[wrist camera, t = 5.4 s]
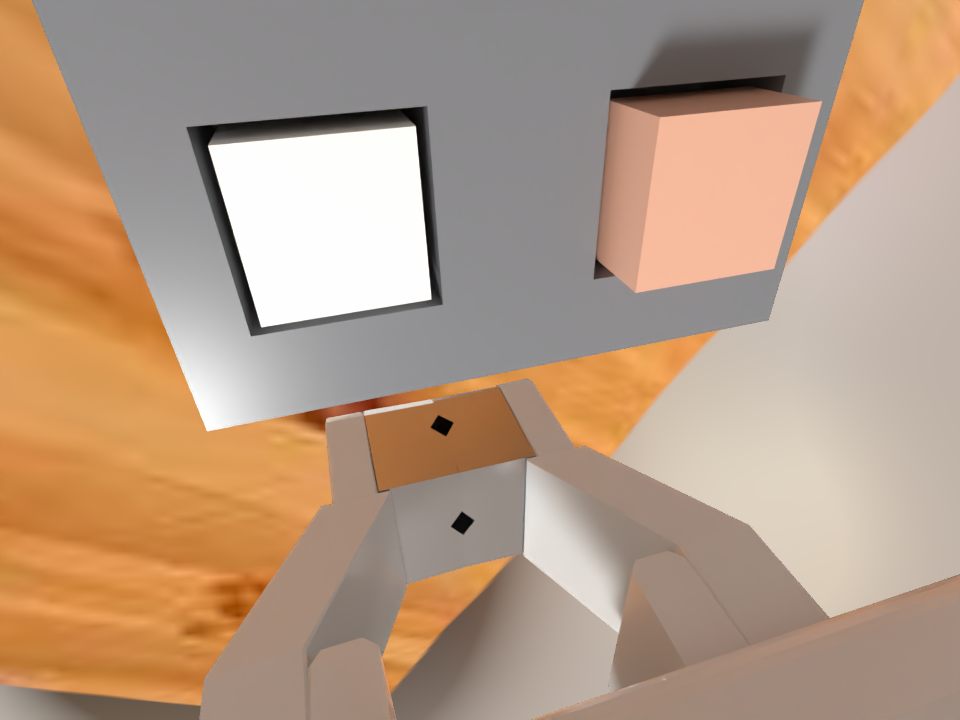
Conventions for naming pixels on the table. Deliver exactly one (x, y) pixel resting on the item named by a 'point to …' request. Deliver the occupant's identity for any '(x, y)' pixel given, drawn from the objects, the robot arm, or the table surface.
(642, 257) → the terracotta key
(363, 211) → the white key
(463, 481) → the robot arm
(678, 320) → the console
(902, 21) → the table surface
